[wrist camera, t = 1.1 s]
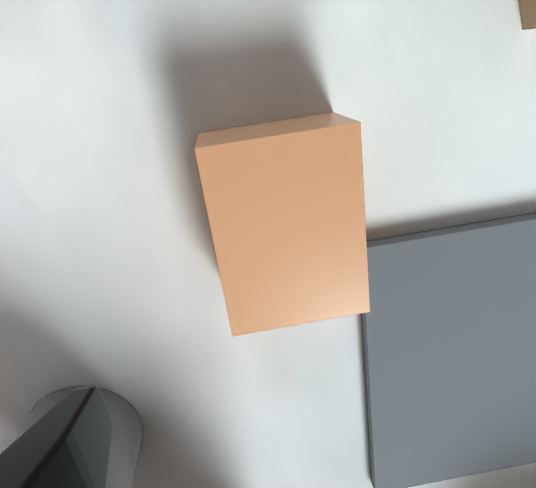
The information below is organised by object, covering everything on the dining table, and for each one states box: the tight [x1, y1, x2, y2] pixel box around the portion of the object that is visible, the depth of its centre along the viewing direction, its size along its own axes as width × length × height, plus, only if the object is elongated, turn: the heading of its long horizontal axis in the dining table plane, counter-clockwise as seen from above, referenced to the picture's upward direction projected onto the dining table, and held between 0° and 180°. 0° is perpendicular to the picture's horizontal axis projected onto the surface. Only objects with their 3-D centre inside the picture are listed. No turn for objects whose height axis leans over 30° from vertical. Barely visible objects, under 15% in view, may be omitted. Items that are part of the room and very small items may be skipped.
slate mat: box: [362, 213, 536, 488], centre depth 20 cm, size 14×14×1 cm
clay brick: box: [194, 112, 370, 336], centre depth 15 cm, size 5×6×3 cm
